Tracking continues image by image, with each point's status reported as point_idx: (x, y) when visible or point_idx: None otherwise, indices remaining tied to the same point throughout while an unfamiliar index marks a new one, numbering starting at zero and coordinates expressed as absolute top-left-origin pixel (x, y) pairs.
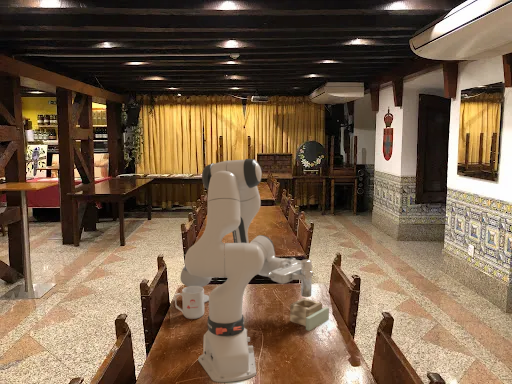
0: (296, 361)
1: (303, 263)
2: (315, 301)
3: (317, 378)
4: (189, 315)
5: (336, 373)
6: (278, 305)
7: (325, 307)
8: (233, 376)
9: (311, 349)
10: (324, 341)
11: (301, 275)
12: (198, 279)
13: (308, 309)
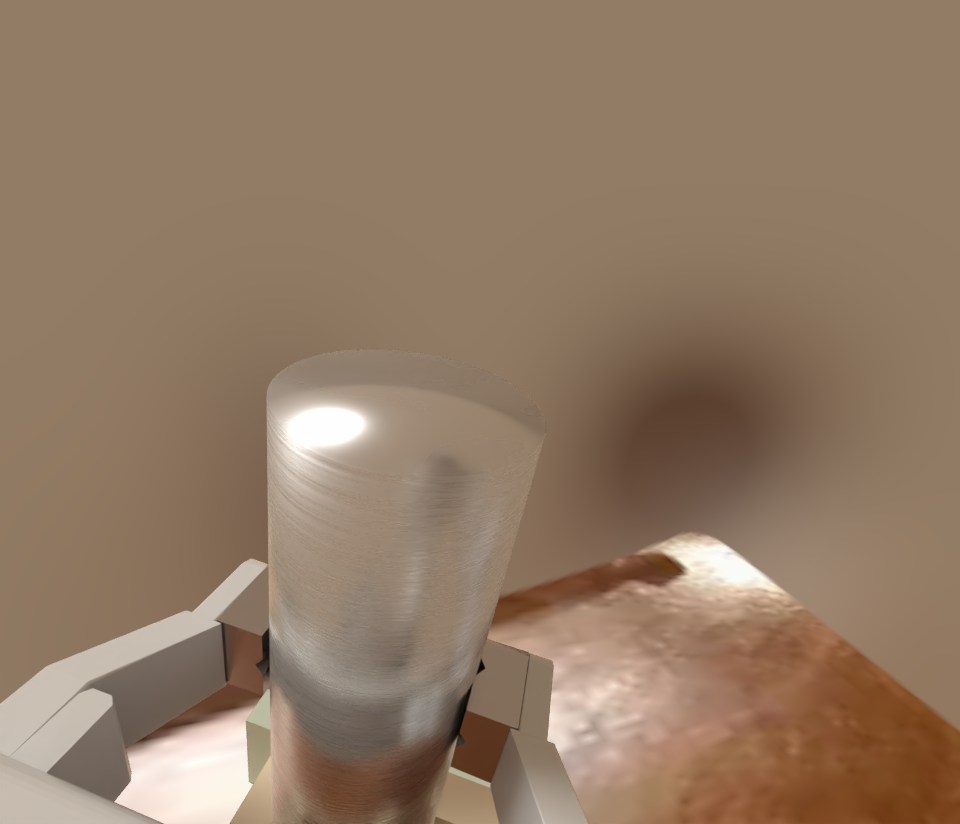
0: (888, 793)
1: (533, 470)
2: (249, 798)
3: (865, 660)
4: None
5: (772, 608)
6: None
7: (265, 719)
8: None
9: (723, 749)
10: (595, 701)
11: (548, 689)
12: None
13: None
